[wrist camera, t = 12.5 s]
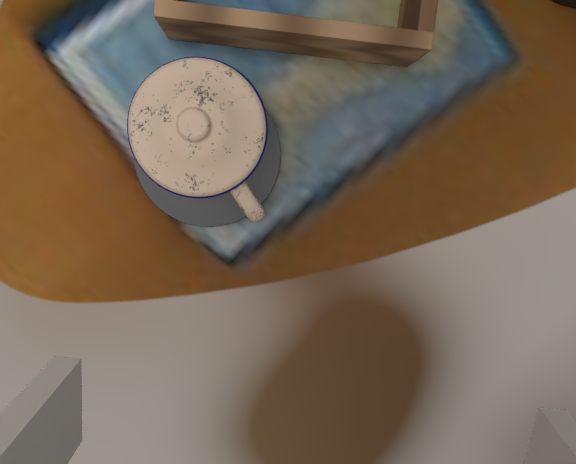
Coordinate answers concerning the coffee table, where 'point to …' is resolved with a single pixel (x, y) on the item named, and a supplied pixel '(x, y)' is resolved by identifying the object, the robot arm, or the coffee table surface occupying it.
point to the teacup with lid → (199, 130)
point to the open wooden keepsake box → (303, 31)
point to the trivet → (224, 205)
